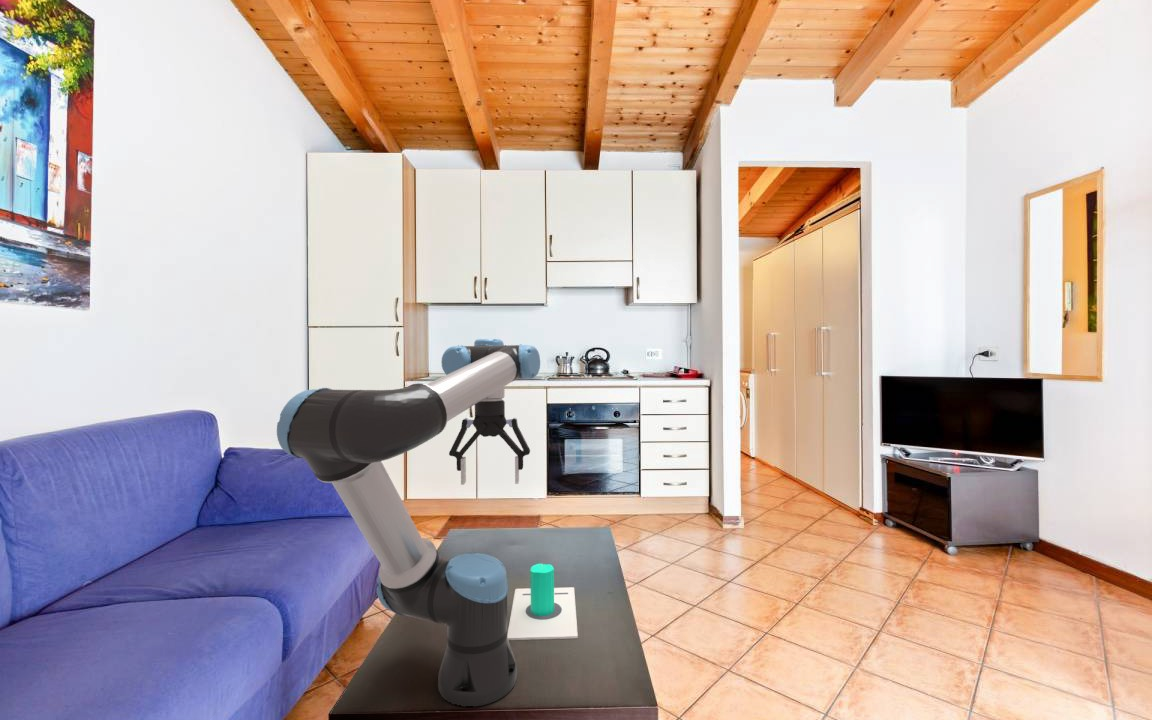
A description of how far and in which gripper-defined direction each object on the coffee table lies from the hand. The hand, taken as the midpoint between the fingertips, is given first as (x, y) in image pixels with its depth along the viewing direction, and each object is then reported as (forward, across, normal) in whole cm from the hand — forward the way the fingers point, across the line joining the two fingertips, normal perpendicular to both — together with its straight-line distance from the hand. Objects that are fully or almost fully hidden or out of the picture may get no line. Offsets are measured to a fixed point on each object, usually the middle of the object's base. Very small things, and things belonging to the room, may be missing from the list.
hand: (490, 483), depth 127 cm
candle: (+31, +13, -3) cm, 34 cm away
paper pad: (+32, +13, -3) cm, 35 cm away
